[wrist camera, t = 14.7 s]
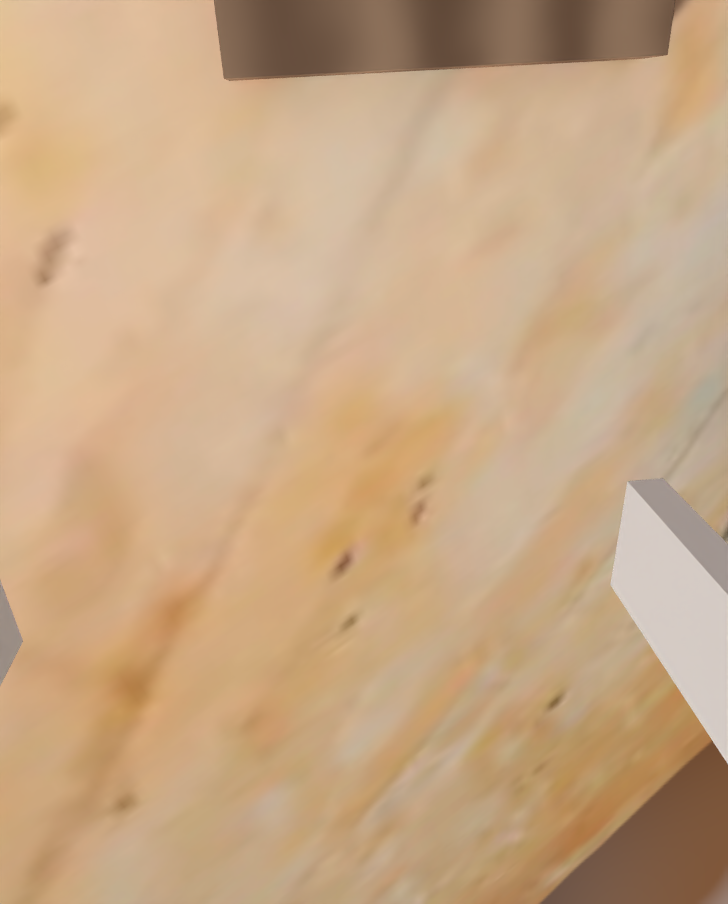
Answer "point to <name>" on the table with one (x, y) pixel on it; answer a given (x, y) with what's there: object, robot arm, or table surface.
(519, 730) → the table surface
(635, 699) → the table surface
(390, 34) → the tang block
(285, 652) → the table surface
